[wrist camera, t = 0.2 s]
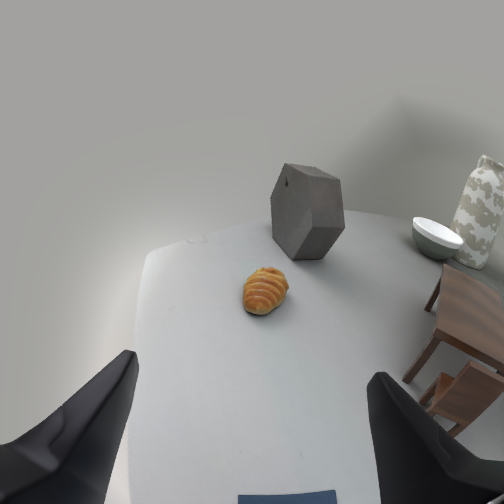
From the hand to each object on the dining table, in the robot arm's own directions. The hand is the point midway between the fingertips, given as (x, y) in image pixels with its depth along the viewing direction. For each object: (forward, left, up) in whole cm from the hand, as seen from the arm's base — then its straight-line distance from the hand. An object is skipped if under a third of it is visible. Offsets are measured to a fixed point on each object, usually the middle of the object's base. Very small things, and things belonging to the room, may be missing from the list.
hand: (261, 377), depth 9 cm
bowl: (+60, -60, -19) cm, 87 cm away
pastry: (+30, -5, -19) cm, 35 cm away
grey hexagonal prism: (+50, -13, -19) cm, 55 cm away
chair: (+5, -25, -19) cm, 32 cm away
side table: (+18, -36, -19) cm, 44 cm away
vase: (+63, -80, -19) cm, 103 cm away
